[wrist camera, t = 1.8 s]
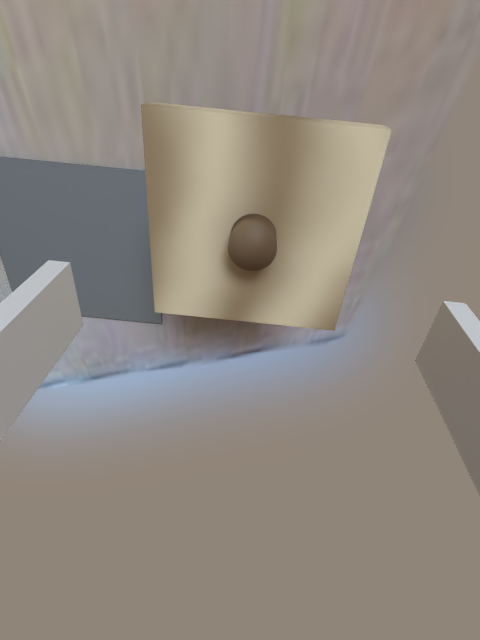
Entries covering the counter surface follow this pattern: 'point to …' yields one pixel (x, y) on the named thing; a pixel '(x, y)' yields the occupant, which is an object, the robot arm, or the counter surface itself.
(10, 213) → the rubber mat
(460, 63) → the counter surface
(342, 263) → the bamboo lid
